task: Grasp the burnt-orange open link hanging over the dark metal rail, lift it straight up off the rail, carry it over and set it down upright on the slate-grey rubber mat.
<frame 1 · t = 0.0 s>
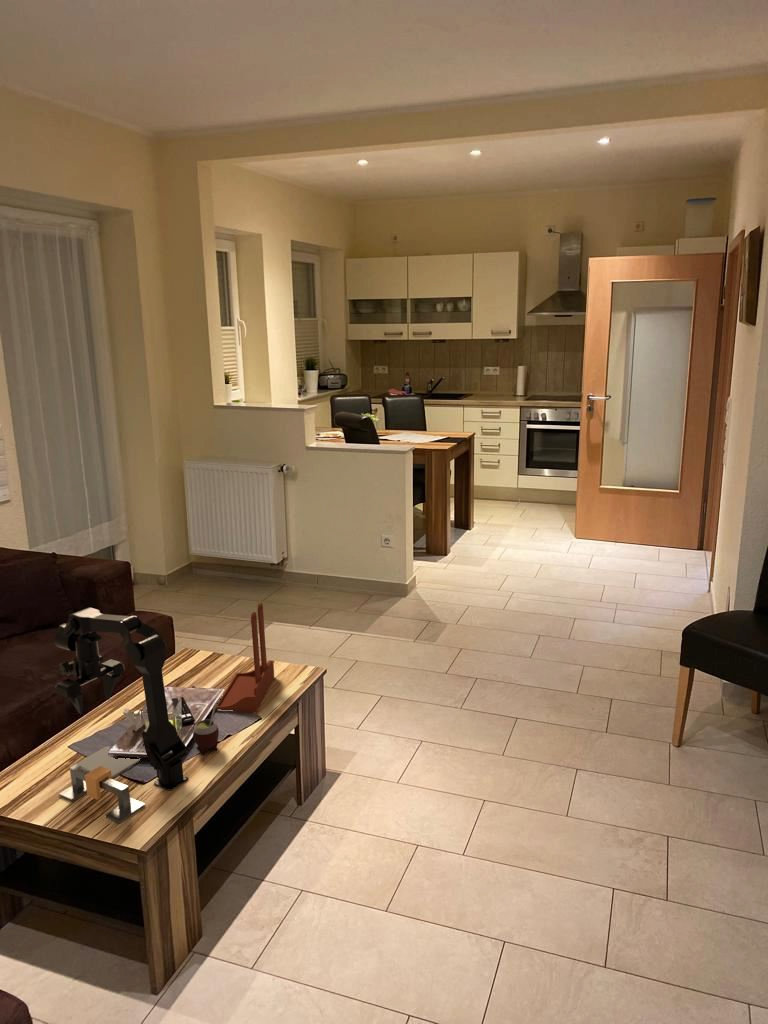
hand: (94, 706, 215), 15 cm above the table, fingers open, 9 cm apart
grey flat heart piece: (135, 730, 231), on the table
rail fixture: (101, 801, 196), on the table
hanging shelf: (246, 694, 252), on the table
mate gourd: (208, 749, 219), on the table
orange link: (100, 792, 195), point 2 cm above the table, touching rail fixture
slate mat: (106, 764, 213), on the table
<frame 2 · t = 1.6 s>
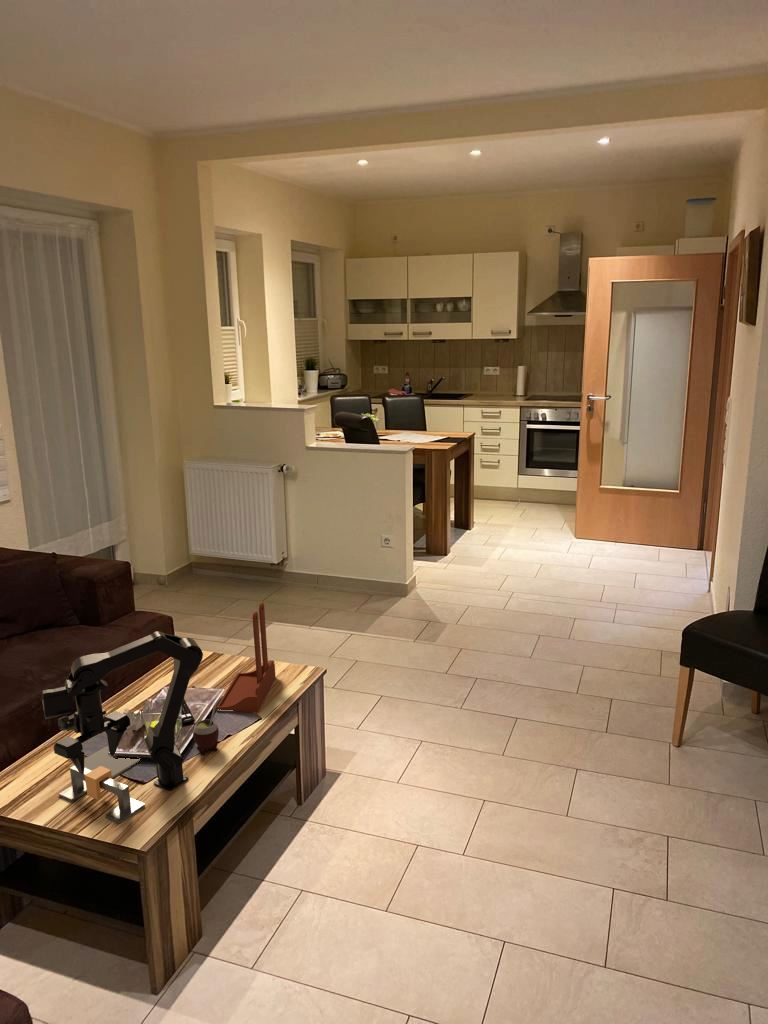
hand: (97, 764, 194), 10 cm above the table, fingers open, 9 cm apart
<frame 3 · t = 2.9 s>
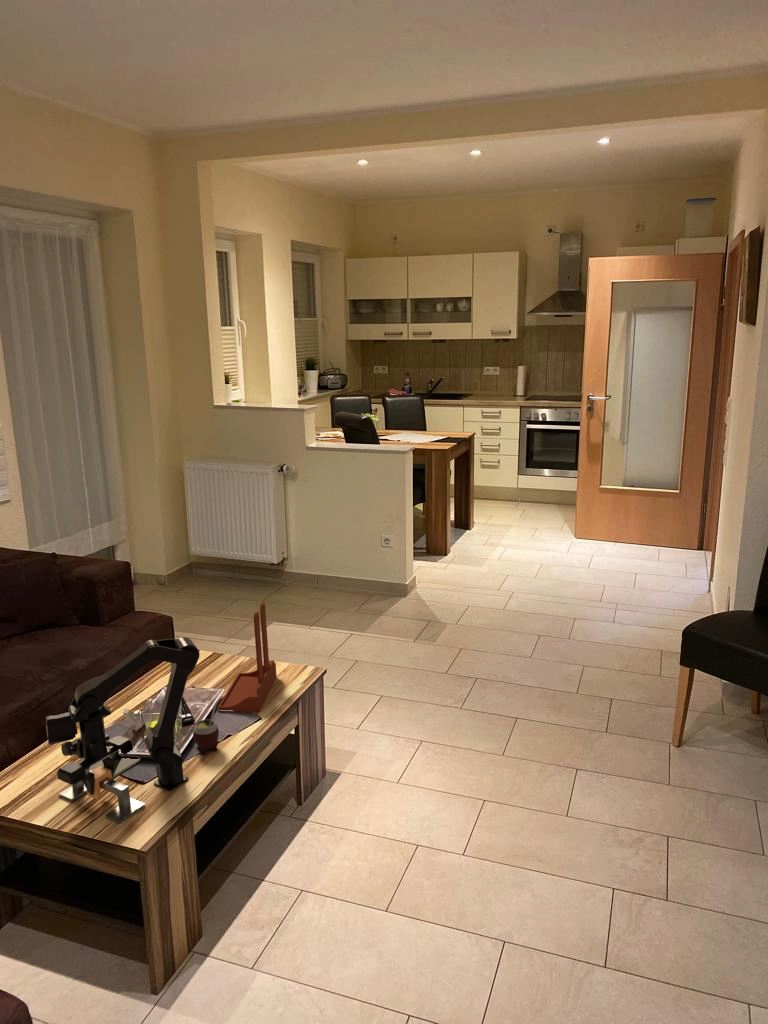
hand: (100, 789, 195), 4 cm above the table, fingers closed on orange link, 5 cm apart
orange link: (100, 792, 195), point 3 cm above the table, touching gripper, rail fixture
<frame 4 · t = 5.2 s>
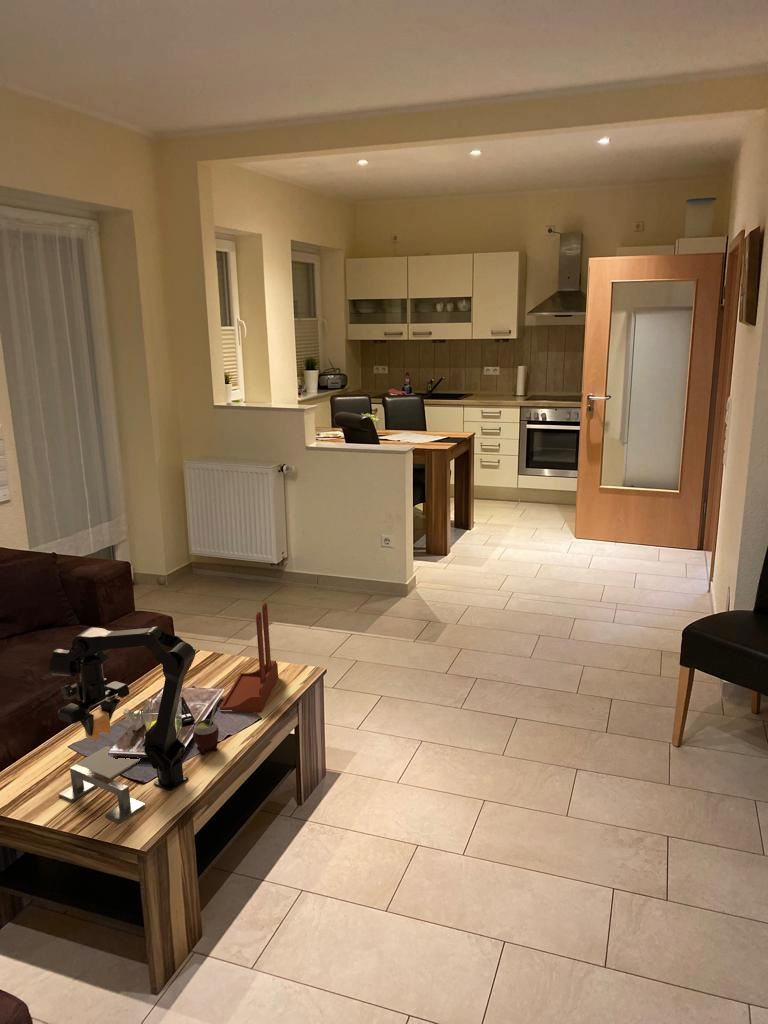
hand: (98, 730, 204), 13 cm above the table, fingers closed on orange link, 5 cm apart
orange link: (98, 734, 205), point 12 cm above the table, touching gripper
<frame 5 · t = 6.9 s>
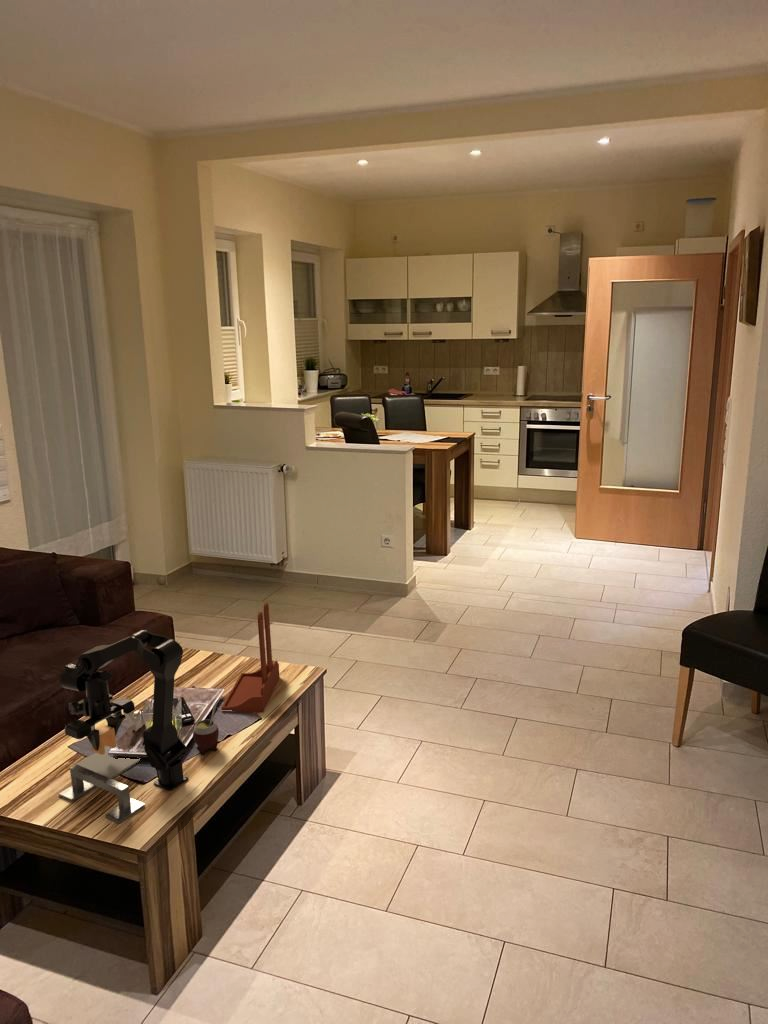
hand: (104, 745, 211), 6 cm above the table, fingers closed on orange link, 5 cm apart
orange link: (104, 748, 211), point 5 cm above the table, touching gripper
when the fingers open (3 cm above the table, at t = 7.8 s): orange link drops 1 cm, resting on slate mat.
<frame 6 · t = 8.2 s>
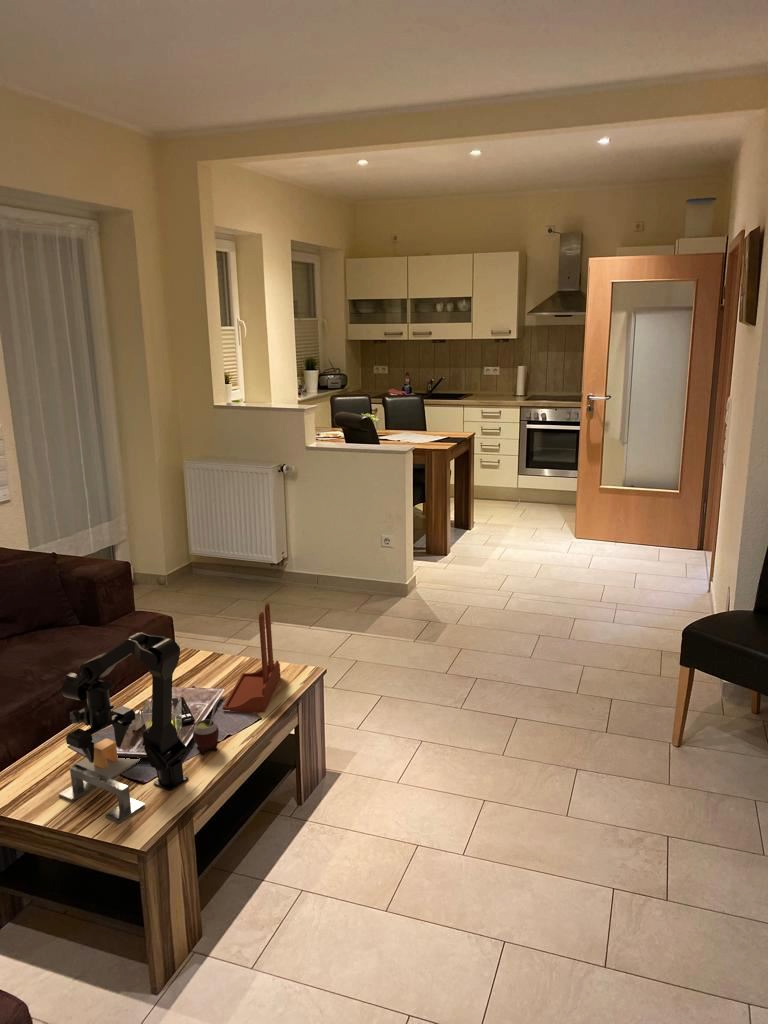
hand: (105, 754, 212), 3 cm above the table, fingers open, 9 cm apart
orange link: (106, 762, 212), point 1 cm above the table, touching slate mat
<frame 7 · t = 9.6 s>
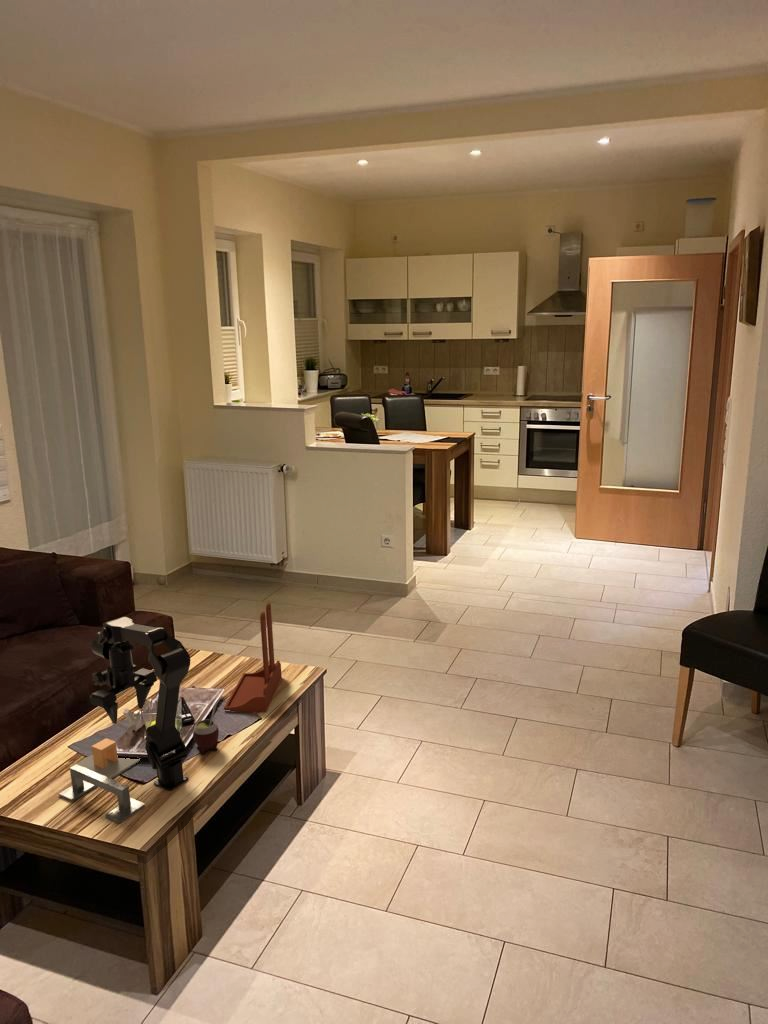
hand: (127, 715, 213), 13 cm above the table, fingers open, 9 cm apart
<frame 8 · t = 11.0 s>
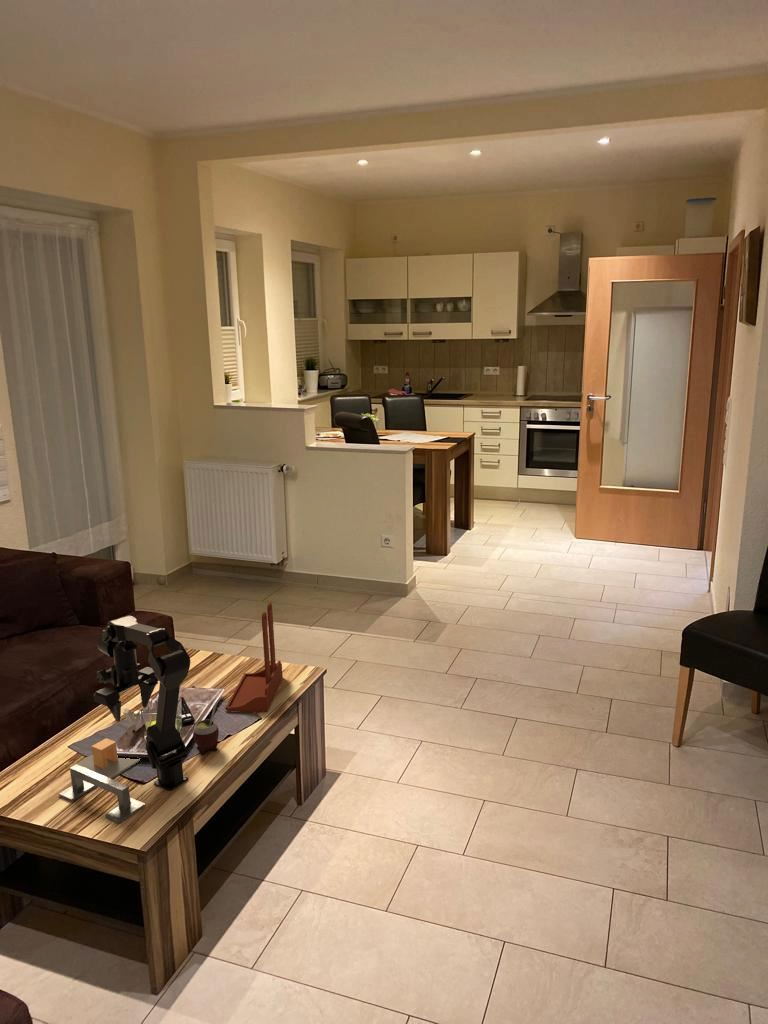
hand: (131, 714, 213), 13 cm above the table, fingers open, 9 cm apart
at the end: orange link inside the target area on the slate mat (0.0 cm from its centre), point 0.6 cm above the slate mat's base; orange link touching slate mat; orange link tilted 0° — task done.
